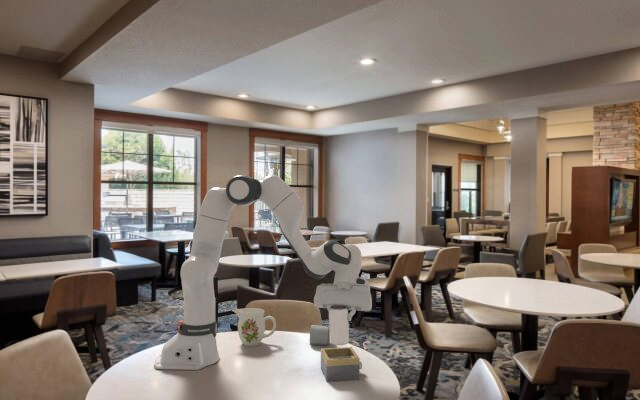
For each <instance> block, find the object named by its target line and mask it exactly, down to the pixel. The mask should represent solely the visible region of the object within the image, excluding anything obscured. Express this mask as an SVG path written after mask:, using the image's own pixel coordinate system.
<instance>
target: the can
mask: <svg viewBox="0 0 640 400" xmlns="http://www.w3.org/2000/svg"><path fill="white" fill-rule="evenodd" d="M330 308H331V309H330V311H329V312H328V316H329V317H328V319H329V320H328V321H329V322H328V323H329V324H328V325H329V326H328V327H329V328H330V344H331V345H333V346H344V345H348V343H349V341H350V339H349V338H350V336H349V335H350V334H349V333H350V332H349V331H350V330H349V321H348V320H347V316H348V314H349V310H347V307H346V306H343V305H335V306H331V307H330Z"/></svg>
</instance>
